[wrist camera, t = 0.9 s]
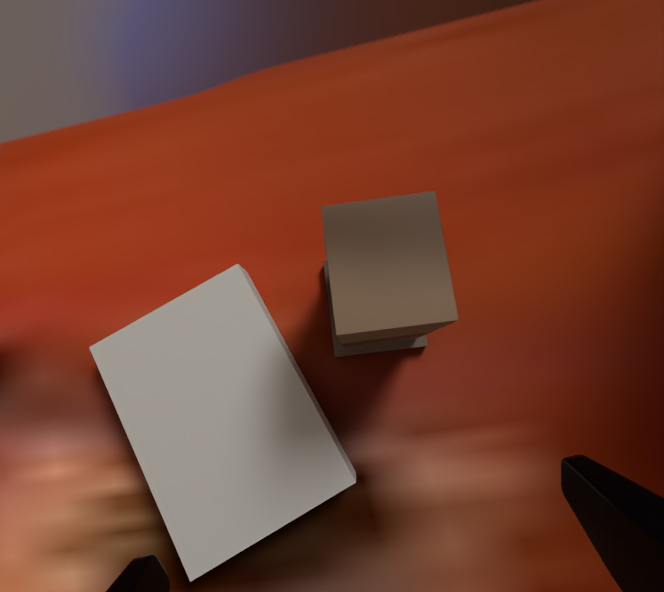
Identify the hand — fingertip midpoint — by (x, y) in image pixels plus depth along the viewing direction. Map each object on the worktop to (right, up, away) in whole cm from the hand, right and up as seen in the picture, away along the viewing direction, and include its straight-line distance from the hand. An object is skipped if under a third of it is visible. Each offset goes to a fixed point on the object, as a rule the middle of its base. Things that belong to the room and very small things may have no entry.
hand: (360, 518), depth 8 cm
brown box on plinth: (+2, +4, +16) cm, 16 cm away
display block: (-7, -2, +15) cm, 17 cm away
